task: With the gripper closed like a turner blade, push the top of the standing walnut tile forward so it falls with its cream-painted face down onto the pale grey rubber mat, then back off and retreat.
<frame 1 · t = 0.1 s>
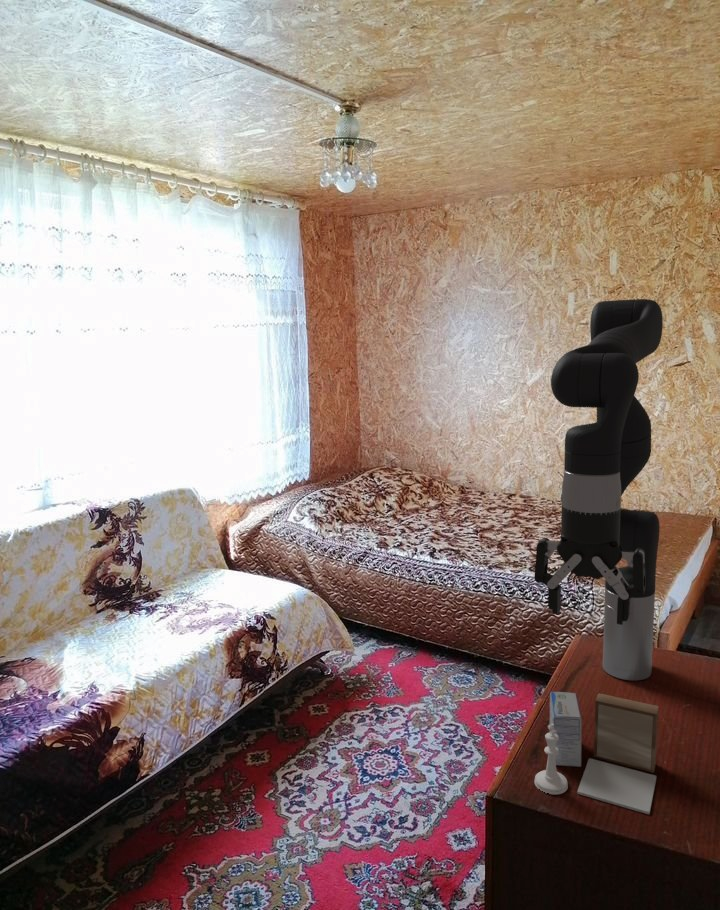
hand: (587, 617, 94), 29 cm above the table, fingers open, 8 cm apart
medicine box: (564, 753, 111), on the table
mat: (617, 785, 103), on the table
chess piece: (551, 785, 104), on the table
tile: (624, 760, 109), on the table
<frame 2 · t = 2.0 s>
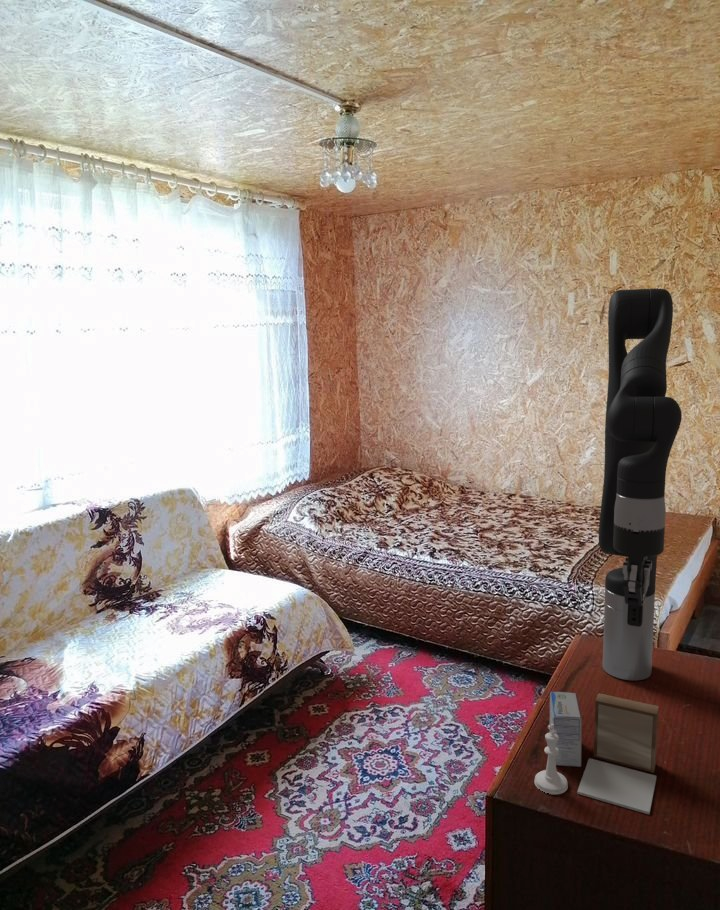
hand: (634, 624, 111), 21 cm above the table, fingers closed
nothing on the table moved.
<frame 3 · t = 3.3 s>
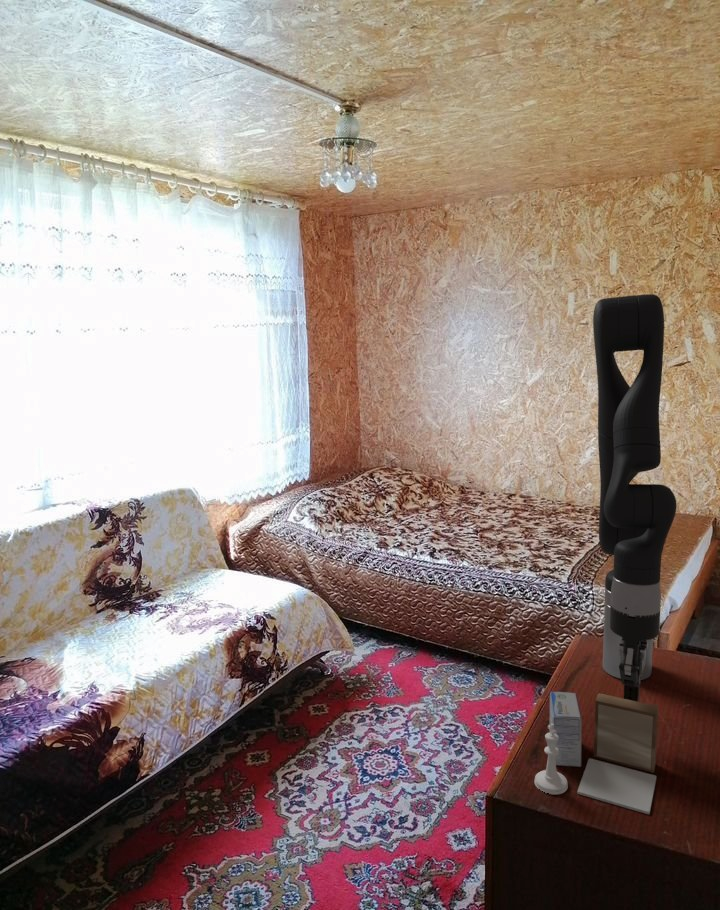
hand: (631, 702, 113), 7 cm above the table, fingers closed
nothing on the table moved.
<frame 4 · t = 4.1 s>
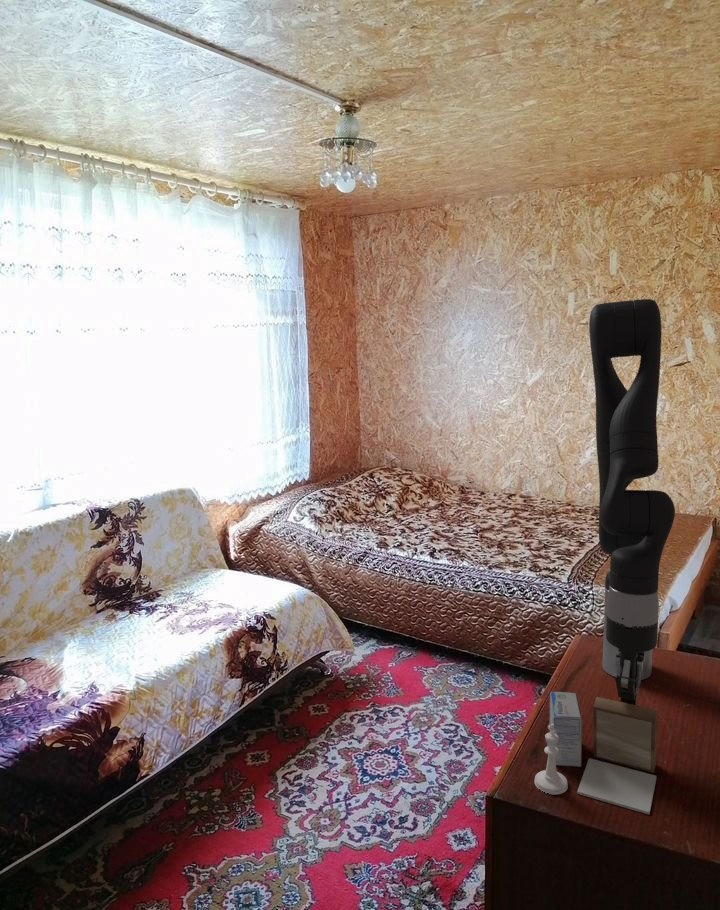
hand: (628, 715, 109), 7 cm above the table, fingers closed
tile: (624, 759, 109), on the table, tilted 10°
everything else where it was.
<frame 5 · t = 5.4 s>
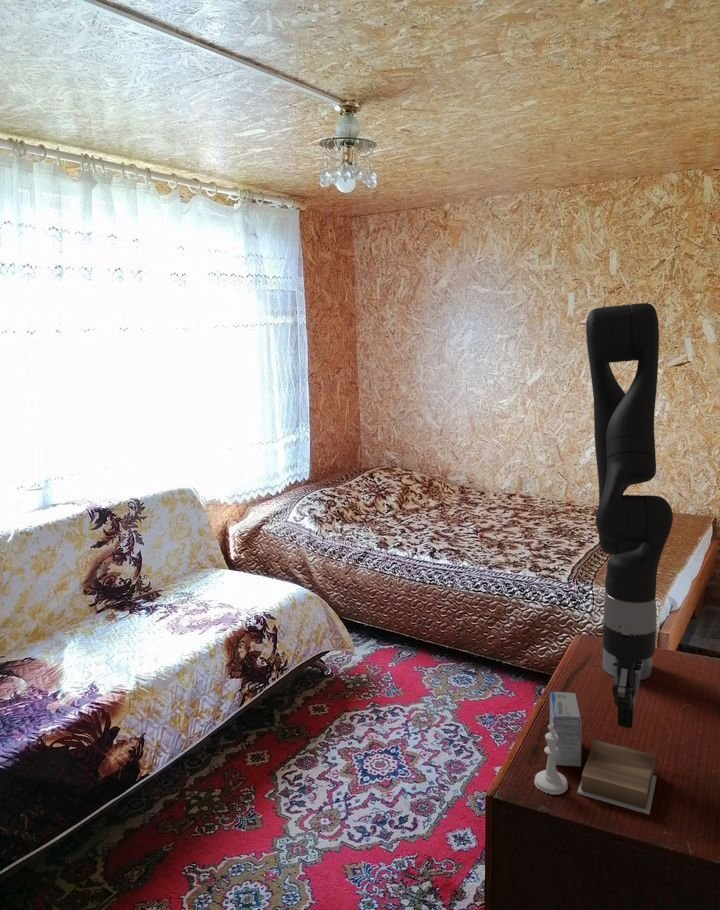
hand: (625, 724, 107), 6 cm above the table, fingers closed
tile: (623, 754, 107), point 2 cm above the table, tilted 90°, touching mat
everything else where it was.
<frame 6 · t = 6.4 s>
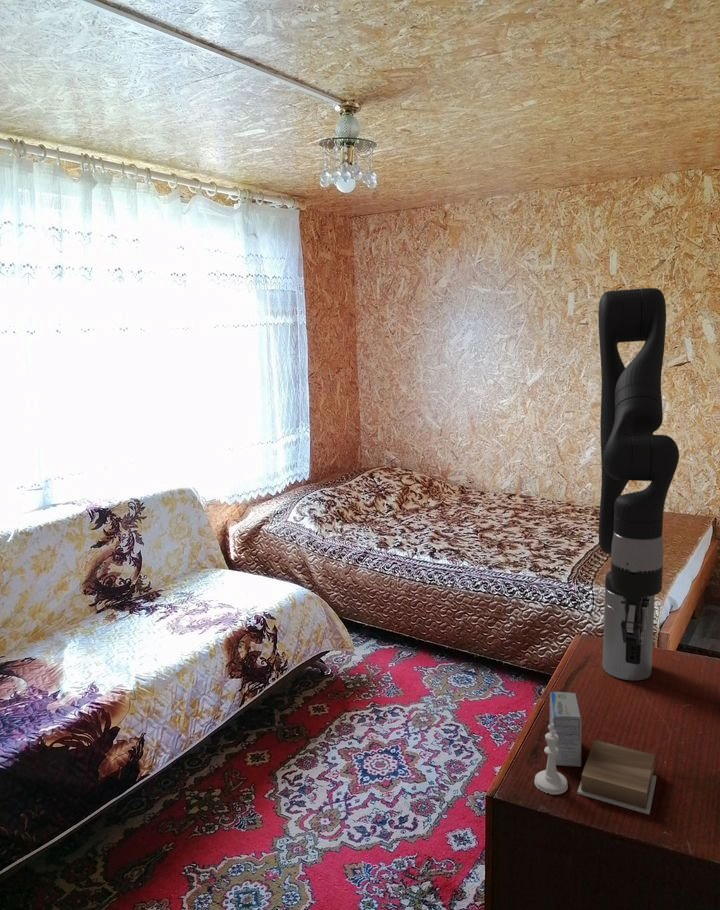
hand: (633, 661, 110), 15 cm above the table, fingers closed
nothing on the table moved.
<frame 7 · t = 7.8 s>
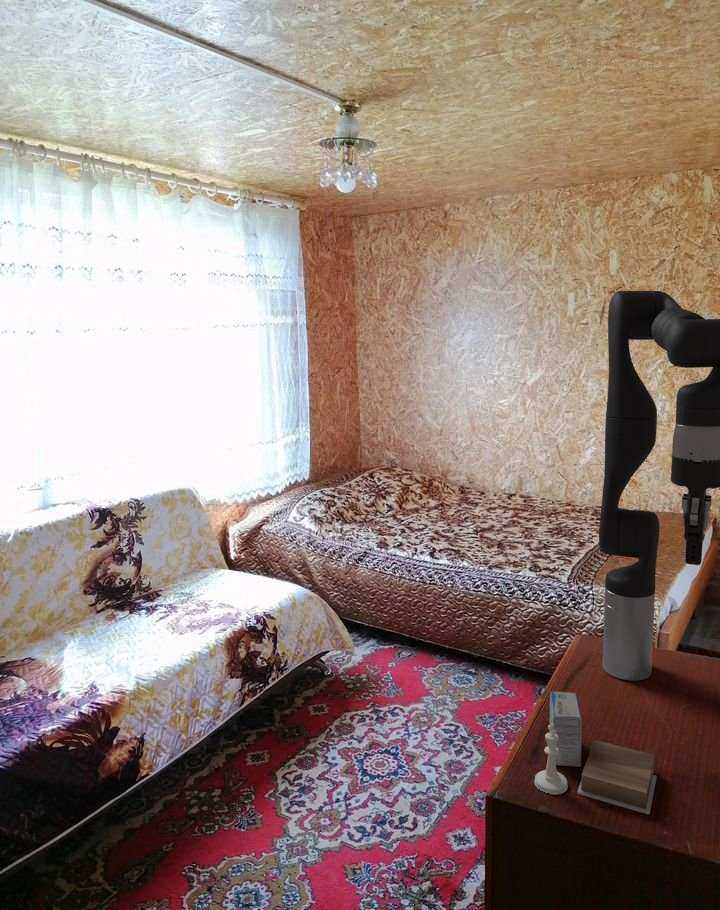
hand: (693, 563, 105), 32 cm above the table, fingers closed
nothing on the table moved.
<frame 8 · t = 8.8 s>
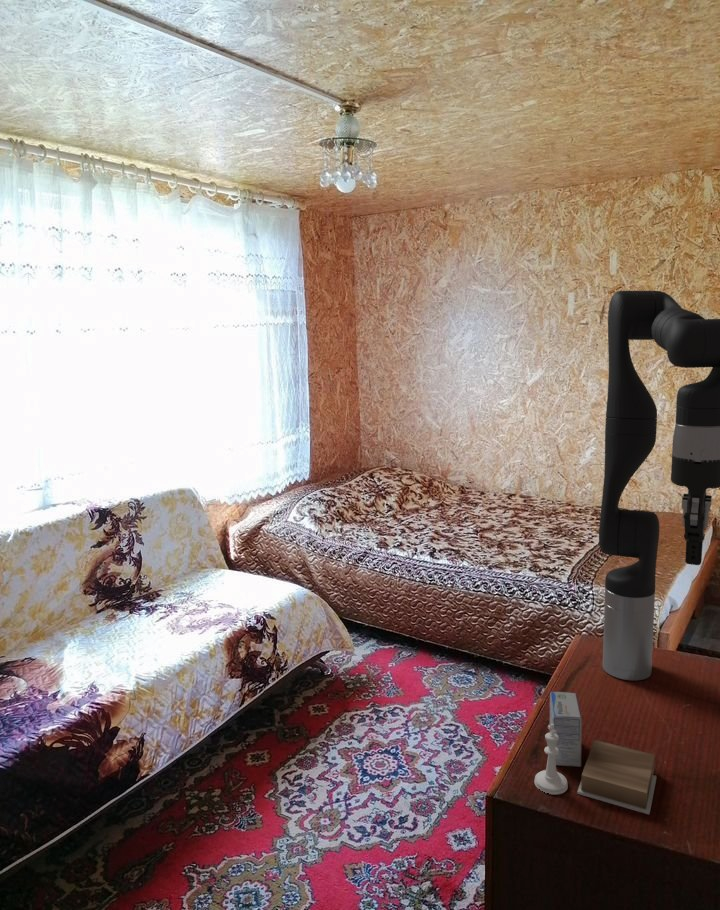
hand: (693, 563, 105), 32 cm above the table, fingers closed
nothing on the table moved.
at the end: tile tilted 90°; tile inside the target area (5.3 cm from its centre), point 1.8 cm above the table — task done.
